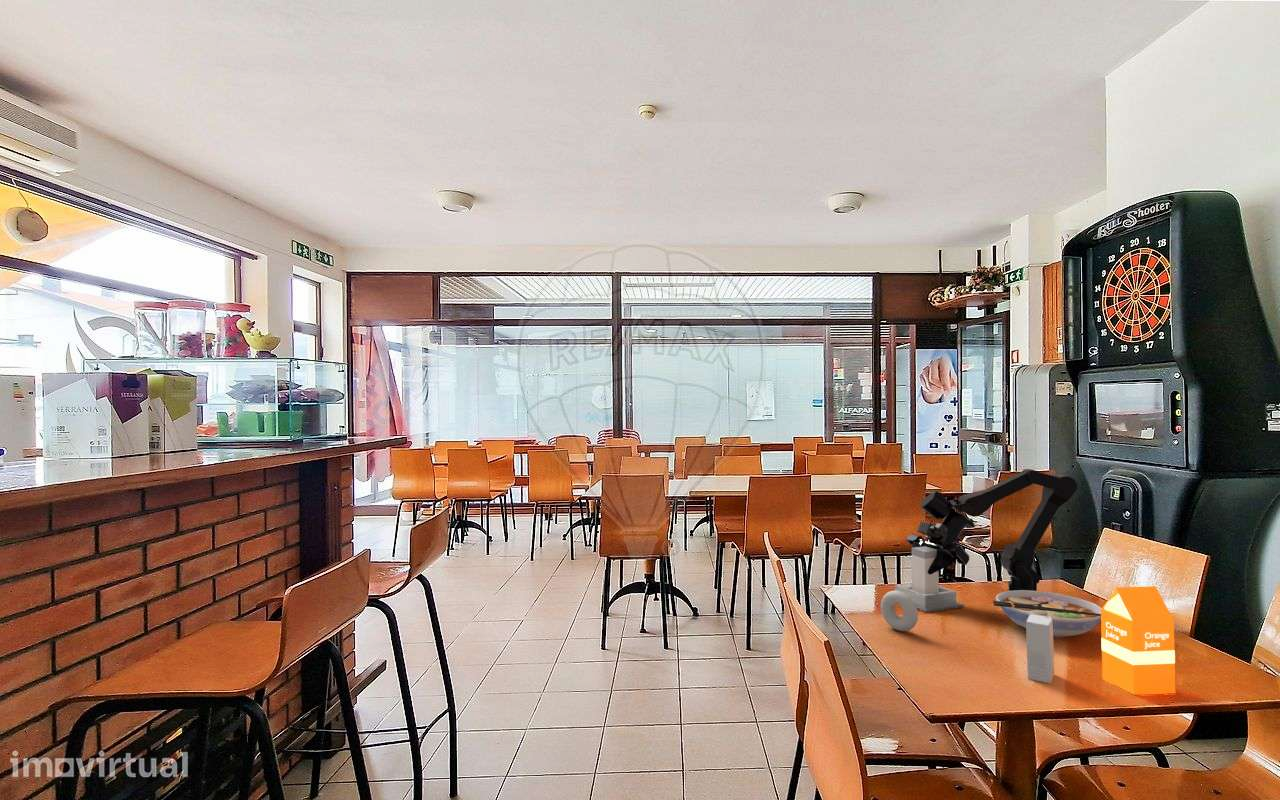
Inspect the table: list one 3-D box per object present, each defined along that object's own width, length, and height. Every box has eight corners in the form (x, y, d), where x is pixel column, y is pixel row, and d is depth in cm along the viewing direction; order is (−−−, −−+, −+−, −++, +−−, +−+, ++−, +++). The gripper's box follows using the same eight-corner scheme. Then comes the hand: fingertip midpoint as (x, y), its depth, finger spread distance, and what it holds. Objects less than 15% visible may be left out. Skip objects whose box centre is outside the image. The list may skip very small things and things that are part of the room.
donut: (878, 626, 159) (877, 587, 159) (886, 623, 161) (885, 585, 161) (912, 638, 151) (912, 597, 151) (921, 635, 152) (920, 594, 153)
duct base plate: (925, 593, 187) (925, 591, 187) (963, 606, 174) (963, 604, 174) (888, 598, 182) (888, 596, 182) (925, 612, 169) (925, 610, 169)
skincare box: (1030, 669, 132) (1029, 613, 132) (1054, 674, 130) (1053, 617, 130) (1026, 678, 128) (1025, 621, 128) (1051, 684, 125) (1050, 625, 125)
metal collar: (925, 592, 185) (925, 581, 185) (956, 603, 174) (956, 591, 174) (895, 597, 181) (895, 585, 181) (925, 608, 170) (925, 596, 170)
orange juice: (1101, 678, 127) (1099, 582, 128) (1141, 677, 128) (1139, 580, 128) (1134, 696, 120) (1132, 593, 120) (1176, 694, 120) (1174, 592, 120)
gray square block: (925, 590, 181) (925, 546, 181) (938, 595, 176) (938, 550, 176) (911, 592, 179) (911, 547, 179) (924, 597, 175) (924, 551, 175)
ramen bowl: (1097, 624, 158) (1097, 593, 158) (1124, 658, 138) (1123, 621, 138) (987, 612, 169) (986, 582, 169) (996, 641, 148) (995, 607, 148)
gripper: (910, 507, 188) (882, 546, 184) (960, 517, 171) (930, 560, 167) (930, 530, 191) (903, 570, 187) (982, 543, 173) (953, 586, 169)
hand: (921, 571), depth 177 cm, fingers closed on gray square block, 5 cm apart
